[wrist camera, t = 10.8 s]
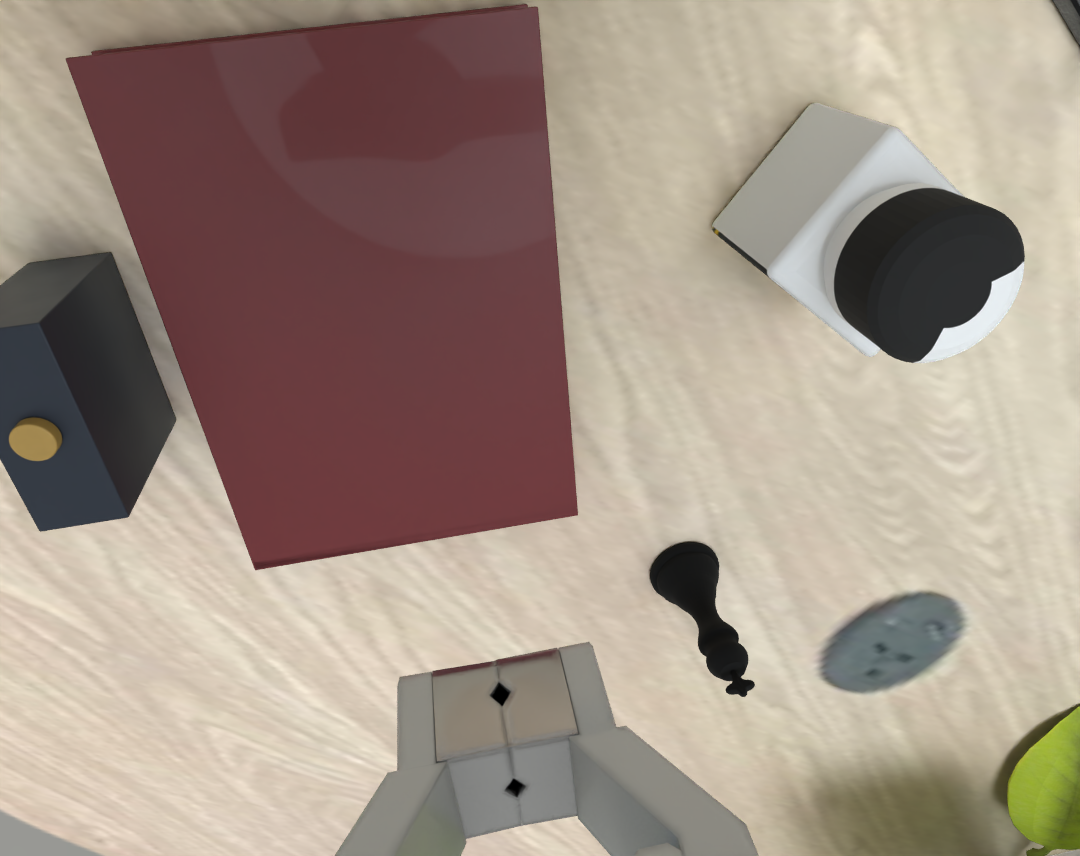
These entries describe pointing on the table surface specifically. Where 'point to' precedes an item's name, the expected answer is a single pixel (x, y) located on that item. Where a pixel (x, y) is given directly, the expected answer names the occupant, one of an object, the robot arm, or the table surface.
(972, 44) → the table surface
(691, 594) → the chess piece
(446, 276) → the burgundy book
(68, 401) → the alarm clock
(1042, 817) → the artificial plant
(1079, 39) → the phone
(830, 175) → the medicine bottle
